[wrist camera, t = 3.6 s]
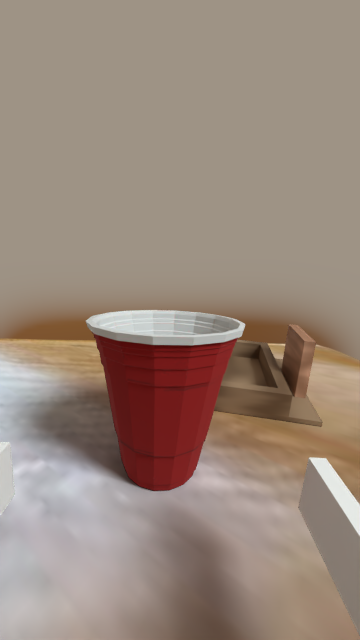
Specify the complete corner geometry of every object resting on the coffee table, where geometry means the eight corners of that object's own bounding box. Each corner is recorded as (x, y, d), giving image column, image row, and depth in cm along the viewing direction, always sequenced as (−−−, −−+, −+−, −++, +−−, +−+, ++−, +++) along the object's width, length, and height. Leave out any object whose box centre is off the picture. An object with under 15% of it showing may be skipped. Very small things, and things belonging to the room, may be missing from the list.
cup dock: (127, 397, 30) (129, 334, 29) (162, 348, 47) (164, 306, 45) (321, 426, 28) (336, 357, 26) (285, 362, 44) (292, 318, 42)
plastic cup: (198, 413, 28) (208, 301, 26) (255, 503, 18) (282, 334, 16) (89, 427, 25) (87, 299, 22) (86, 545, 15) (82, 340, 12)
